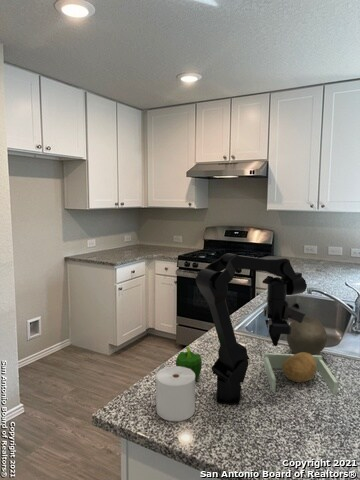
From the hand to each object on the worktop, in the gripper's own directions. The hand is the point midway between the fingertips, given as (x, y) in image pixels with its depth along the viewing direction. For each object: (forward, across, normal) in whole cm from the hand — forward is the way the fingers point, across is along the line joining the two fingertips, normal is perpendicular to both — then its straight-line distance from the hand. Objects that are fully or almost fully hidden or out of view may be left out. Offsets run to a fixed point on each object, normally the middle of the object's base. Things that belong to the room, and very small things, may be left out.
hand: (275, 345), depth 108 cm
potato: (+12, +3, -8) cm, 15 cm away
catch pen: (+12, +2, -8) cm, 15 cm away
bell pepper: (+12, -2, +27) cm, 30 cm away
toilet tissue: (+12, -20, +29) cm, 37 cm away
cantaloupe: (+12, +21, -14) cm, 28 cm away
